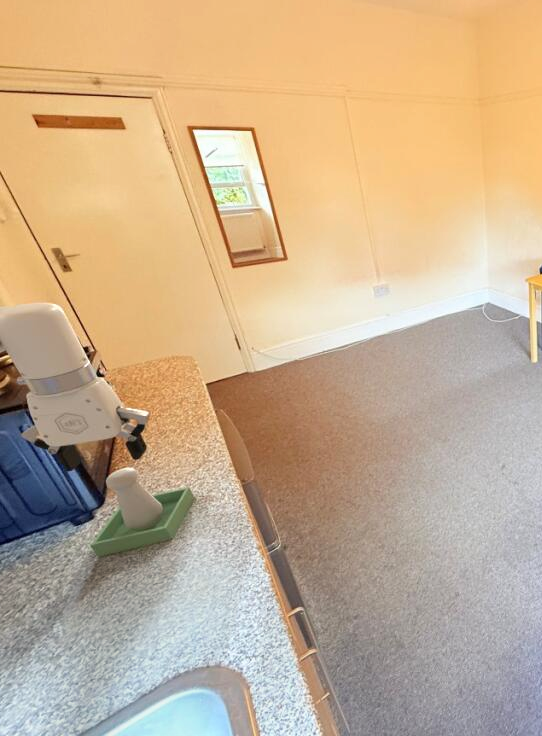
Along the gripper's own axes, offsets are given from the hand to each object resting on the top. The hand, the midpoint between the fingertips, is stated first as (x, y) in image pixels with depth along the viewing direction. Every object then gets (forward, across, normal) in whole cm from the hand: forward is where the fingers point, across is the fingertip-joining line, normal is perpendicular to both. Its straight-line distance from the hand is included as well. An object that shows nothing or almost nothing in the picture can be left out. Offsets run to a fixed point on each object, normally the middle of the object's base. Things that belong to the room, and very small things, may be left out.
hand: (108, 460), depth 72 cm
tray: (+17, +1, 0) cm, 17 cm away
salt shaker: (+16, +1, 0) cm, 16 cm away
